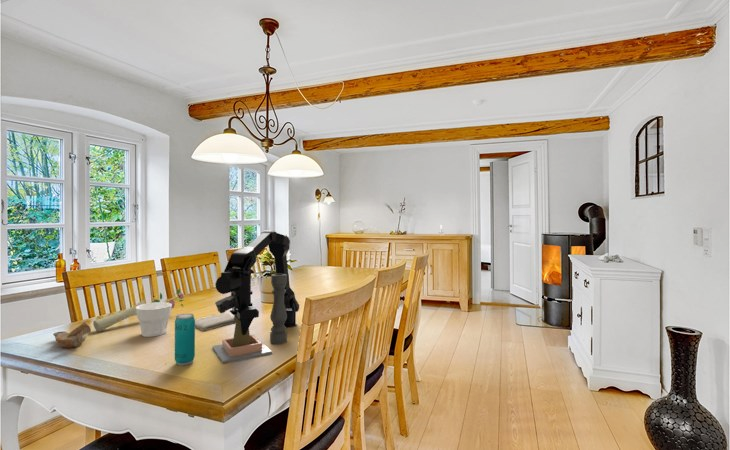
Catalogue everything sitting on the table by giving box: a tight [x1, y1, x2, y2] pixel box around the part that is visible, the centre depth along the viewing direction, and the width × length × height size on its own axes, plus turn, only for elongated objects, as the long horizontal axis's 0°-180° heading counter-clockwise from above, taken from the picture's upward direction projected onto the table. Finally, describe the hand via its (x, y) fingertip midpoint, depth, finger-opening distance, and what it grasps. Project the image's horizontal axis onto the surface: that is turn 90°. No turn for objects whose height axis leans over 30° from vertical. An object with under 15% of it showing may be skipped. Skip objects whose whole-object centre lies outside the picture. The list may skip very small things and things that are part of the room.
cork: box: [233, 314, 251, 347], centre depth 127 cm, size 6×6×11 cm
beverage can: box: [174, 313, 196, 366], centre depth 117 cm, size 6×6×15 cm
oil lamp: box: [52, 321, 92, 349], centre depth 131 cm, size 9×21×10 cm, turn 60°
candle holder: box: [269, 273, 288, 345], centre depth 138 cm, size 6×6×25 cm
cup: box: [136, 301, 173, 338], centre depth 145 cm, size 12×12×11 cm
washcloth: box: [194, 312, 236, 332], centre depth 160 cm, size 12×18×3 cm, turn 147°
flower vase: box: [92, 288, 185, 333], centre depth 160 cm, size 12×12×35 cm
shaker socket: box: [212, 334, 273, 364], centre depth 128 cm, size 16×16×3 cm
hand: (242, 333), depth 128 cm, fingers closed on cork, 4 cm apart
